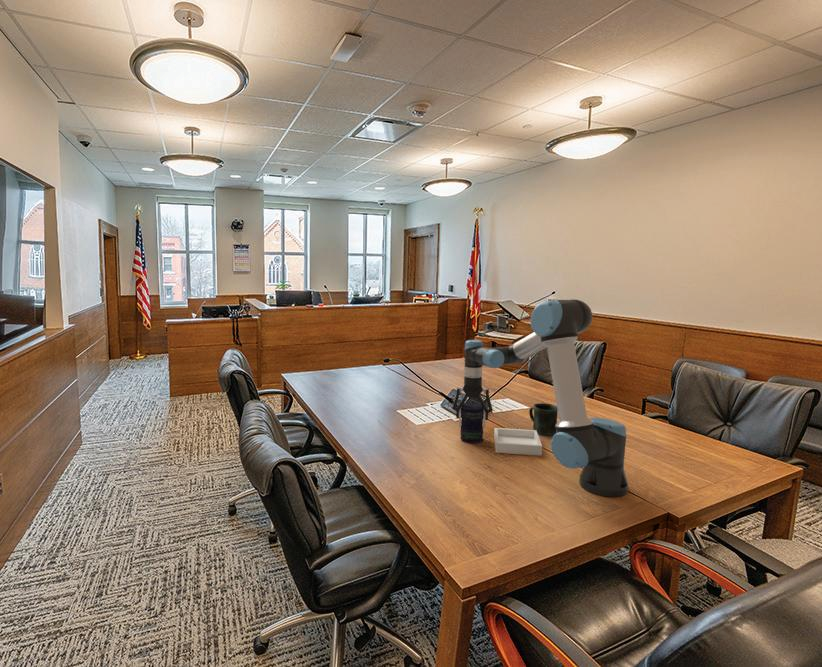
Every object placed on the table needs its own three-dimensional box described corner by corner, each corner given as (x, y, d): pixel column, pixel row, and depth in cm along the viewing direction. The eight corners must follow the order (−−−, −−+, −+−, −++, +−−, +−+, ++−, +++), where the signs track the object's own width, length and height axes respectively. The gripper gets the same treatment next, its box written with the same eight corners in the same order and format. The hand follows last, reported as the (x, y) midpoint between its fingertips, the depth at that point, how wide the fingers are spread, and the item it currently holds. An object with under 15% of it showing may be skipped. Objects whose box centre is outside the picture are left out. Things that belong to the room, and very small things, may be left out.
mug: (546, 438, 192) (548, 411, 190) (521, 428, 204) (522, 403, 202) (562, 433, 198) (563, 407, 196) (537, 424, 210) (538, 400, 208)
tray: (541, 455, 173) (542, 445, 173) (495, 452, 176) (496, 443, 175) (535, 439, 191) (536, 430, 190) (494, 436, 194) (494, 427, 193)
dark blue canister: (482, 444, 184) (483, 409, 182) (459, 442, 186) (459, 408, 184) (483, 435, 194) (484, 403, 192) (461, 434, 196) (462, 401, 194)
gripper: (499, 375, 188) (497, 424, 191) (447, 373, 192) (446, 422, 195) (500, 379, 181) (498, 430, 184) (446, 376, 184) (445, 427, 187)
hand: (471, 426), depth 189 cm, fingers closed on dark blue canister, 10 cm apart
